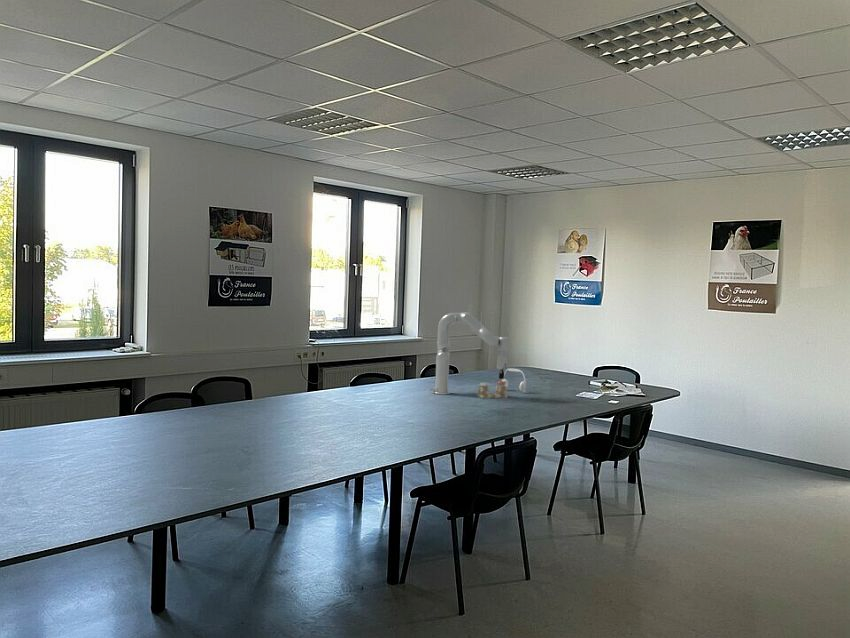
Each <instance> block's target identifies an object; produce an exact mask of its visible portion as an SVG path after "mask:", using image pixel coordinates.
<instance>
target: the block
mask: <svg viewBox="0 0 850 638" xmlns="http://www.w3.org/2000/svg"><path fill="white" fill-rule="evenodd" d="M477 389H478V390H477V392H478V393H476V396H478V397H479V398H481V399H496V398H498V399H504V398H505V399H507V397H508V387H506V386H504V387H500V385H496V386H495V393H493V392H491V393H490V386H486V387H482V386H480V385H478V388H477ZM508 398H509V397H508Z"/></svg>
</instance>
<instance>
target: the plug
mask: <svg viewBox="0 0 850 638" xmlns="http://www.w3.org/2000/svg"><path fill="white" fill-rule="evenodd" d="M479 384H480V385H479V386H482V387H486V386H488V385H489V384H488V382H480V383H479ZM488 387H489V386H488Z"/></svg>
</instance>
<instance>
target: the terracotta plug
mask: <svg viewBox="0 0 850 638" xmlns="http://www.w3.org/2000/svg"><path fill="white" fill-rule="evenodd" d="M497 384H498V385H499V386H500V387H504V385H505V381H502V380H498V382H497Z"/></svg>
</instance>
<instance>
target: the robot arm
mask: <svg viewBox="0 0 850 638" xmlns="http://www.w3.org/2000/svg"><path fill="white" fill-rule="evenodd" d="M455 324H457V325H459V324H460V325H461V324H463V325H465V326H466V327H467V328H468V329H469V330H471V331H472V332H473V333H474V334H476V336H477V337H479V338H480V339H481V340H482V341H483V342H485V344H487V345H488V346H490V347H492V348H495V347H497V357H496V367H495V368H496V369H497V370H498V379H499V380H502V379H505V376H504V373H505V371H506V370H507V369H508V356H509V348H510V347H509V346H510V345H509V343H510V338H509V337H506V336H498V335H497V336H496V335H494V334H493V333H492V332H490V331H489V330H488V329H487V328H486V326H485V325H484V324H483V323H481V321H479V320H478V319H477V318H476V317H474V316H473V315H472V314H471V313H470V312H467V311H464V312H449V313H447V314H445V315H444V316H442V317H441V318H440V320H439V322H438V325H437V341H436V344H437V351H436V352H437V353H436V357H435V386H434V387H429V388H428V391H431V392H432V394H435V395H445V396H446V395H450V394H451V391H449V378H450V377H449V375H450V373H449V372H450V371H449V370H450V357H451V340H450V328H451V326H452V325H455ZM505 374H506V373H505Z"/></svg>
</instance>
